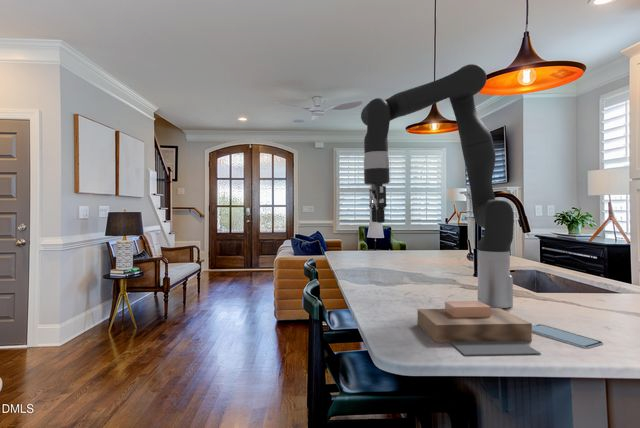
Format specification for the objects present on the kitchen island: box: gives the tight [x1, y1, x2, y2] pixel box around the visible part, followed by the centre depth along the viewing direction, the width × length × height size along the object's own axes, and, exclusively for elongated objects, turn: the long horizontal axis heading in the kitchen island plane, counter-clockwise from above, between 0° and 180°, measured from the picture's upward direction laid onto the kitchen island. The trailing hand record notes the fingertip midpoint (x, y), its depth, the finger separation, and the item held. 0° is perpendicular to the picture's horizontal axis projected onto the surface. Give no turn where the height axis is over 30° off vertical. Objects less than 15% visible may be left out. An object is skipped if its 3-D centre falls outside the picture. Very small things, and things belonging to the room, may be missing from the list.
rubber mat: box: [449, 341, 542, 357], centre depth 82 cm, size 16×8×1 cm, turn 93°
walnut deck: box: [417, 308, 533, 344], centre depth 93 cm, size 22×14×4 cm, turn 93°
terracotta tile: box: [444, 300, 491, 317], centre depth 95 cm, size 9×6×2 cm, turn 93°
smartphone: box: [532, 323, 604, 349], centre depth 90 cm, size 7×1×15 cm
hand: (377, 222), depth 114 cm, fingers open, 8 cm apart
